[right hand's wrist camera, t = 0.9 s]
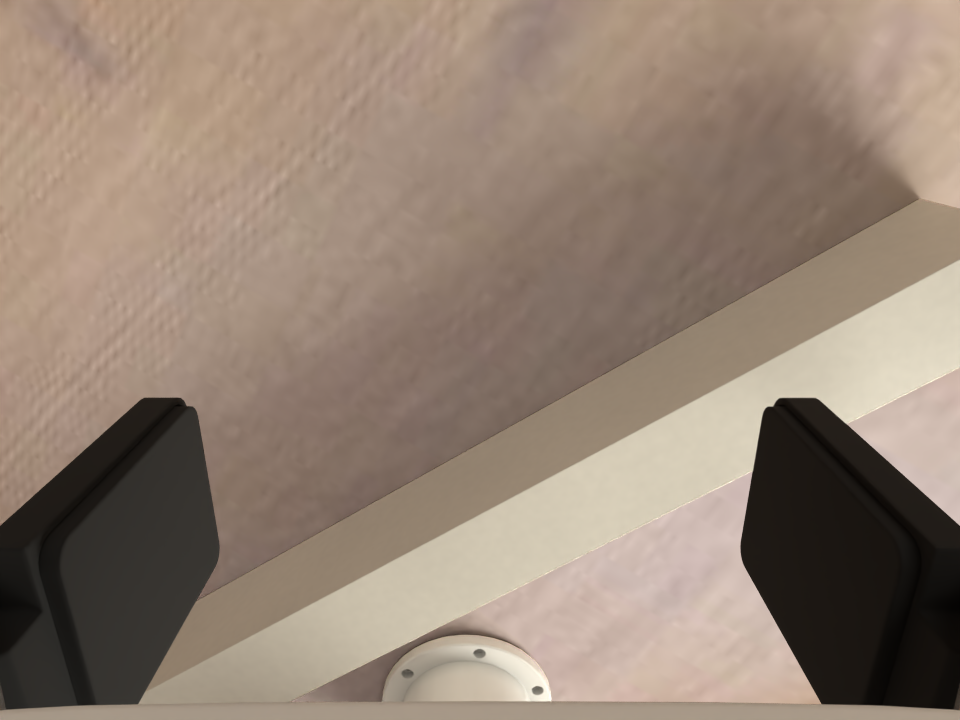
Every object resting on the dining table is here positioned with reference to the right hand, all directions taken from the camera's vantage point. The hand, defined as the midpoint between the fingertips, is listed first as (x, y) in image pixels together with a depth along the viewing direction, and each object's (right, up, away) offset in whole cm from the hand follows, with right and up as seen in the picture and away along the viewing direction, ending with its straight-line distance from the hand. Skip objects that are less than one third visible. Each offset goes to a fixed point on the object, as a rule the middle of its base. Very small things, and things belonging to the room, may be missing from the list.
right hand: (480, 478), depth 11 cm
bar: (-6, -10, +34) cm, 36 cm away
